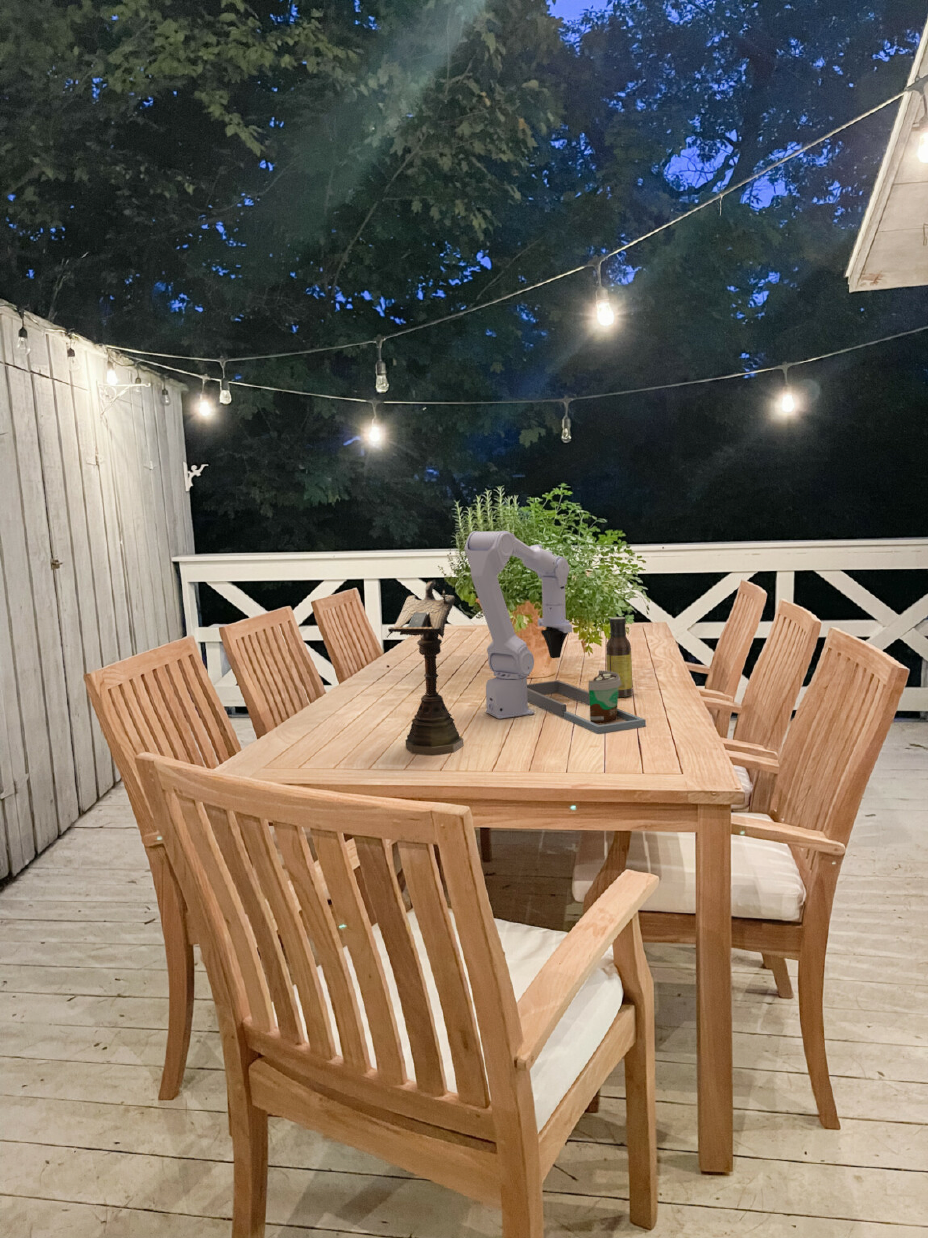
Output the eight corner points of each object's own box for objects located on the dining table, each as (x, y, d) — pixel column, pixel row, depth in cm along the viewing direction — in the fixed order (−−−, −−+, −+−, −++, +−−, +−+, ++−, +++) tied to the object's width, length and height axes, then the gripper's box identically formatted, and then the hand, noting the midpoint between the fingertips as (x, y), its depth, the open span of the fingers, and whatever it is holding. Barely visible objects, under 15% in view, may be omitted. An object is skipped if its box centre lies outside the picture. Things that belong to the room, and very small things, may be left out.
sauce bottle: (637, 695, 210) (636, 617, 207) (619, 699, 206) (618, 620, 204) (619, 691, 215) (618, 615, 212) (601, 695, 212) (600, 617, 209)
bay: (598, 734, 177) (597, 727, 177) (563, 718, 191) (563, 712, 191) (645, 726, 181) (645, 719, 181) (608, 711, 195) (608, 705, 195)
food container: (616, 726, 182) (616, 682, 181) (589, 725, 184) (588, 681, 183) (626, 712, 193) (625, 670, 192) (600, 711, 196) (599, 669, 194)
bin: (562, 717, 191) (562, 705, 191) (517, 697, 213) (517, 685, 213) (607, 711, 196) (607, 698, 195) (558, 691, 218) (558, 680, 217)
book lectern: (446, 765, 160) (438, 584, 155) (386, 759, 165) (376, 584, 160) (478, 741, 175) (471, 576, 170) (422, 736, 180) (414, 576, 175)
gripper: (582, 605, 202) (583, 660, 204) (554, 600, 215) (555, 651, 217) (556, 608, 200) (558, 663, 201) (529, 602, 213) (531, 654, 215)
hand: (555, 657), depth 209 cm, fingers closed
